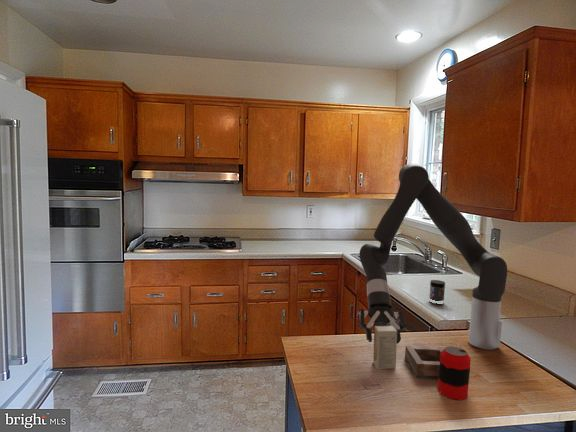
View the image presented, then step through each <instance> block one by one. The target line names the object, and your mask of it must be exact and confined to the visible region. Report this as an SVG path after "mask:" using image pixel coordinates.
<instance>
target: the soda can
mask: <svg viewBox="0 0 576 432" xmlns="http://www.w3.org/2000/svg"><path fill="white" fill-rule="evenodd" d="M471 360H472V359H471V357H470V355H469V353H468V352H467V351H466V350H465V349H464V348H461V347H458V346H451V345H450V346H445V347H444V350H442V351H441V355H440V368H439V379H438V382H437V383H438V384H437V390H438V391H439V393H440V394H441V395H442V396H444V397H445V398H447V399H451V400H456V401H458V400H459V401H461V400H465V399H466V398H468V396H469V395H468V394H469V383H470V374H471V372H470V371H471Z"/></svg>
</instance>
